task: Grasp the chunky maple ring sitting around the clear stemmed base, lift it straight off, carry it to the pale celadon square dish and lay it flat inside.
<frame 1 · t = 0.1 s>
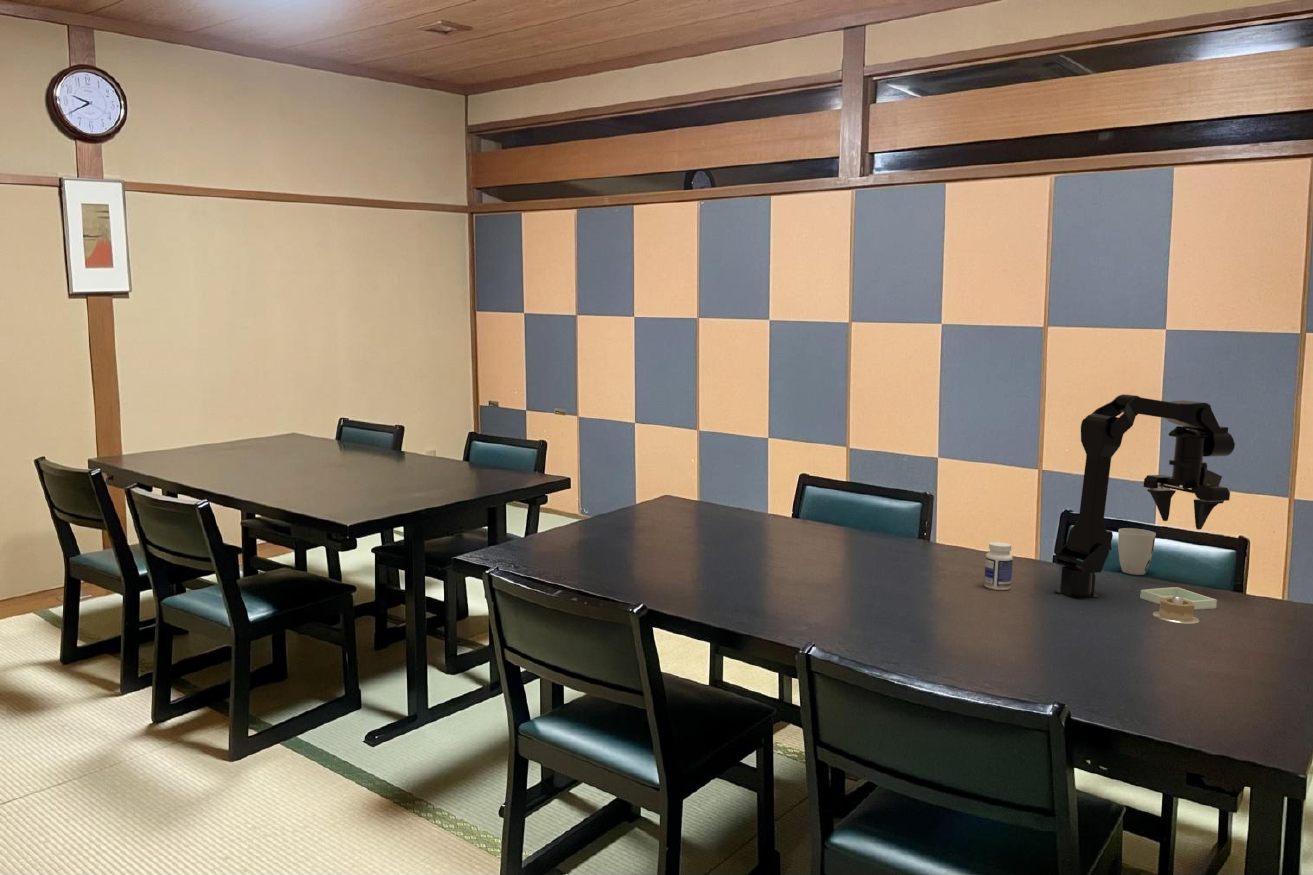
hand: (1181, 525, 223), 15 cm above the table, fingers open, 9 cm apart
cup: (1133, 572, 238), on the table
dish: (1177, 604, 210), on the table
clear stemmed base: (1175, 618, 200), on the table
pill bottle: (997, 588, 220), on the table
ring: (1176, 616, 200), resting on clear stemmed base
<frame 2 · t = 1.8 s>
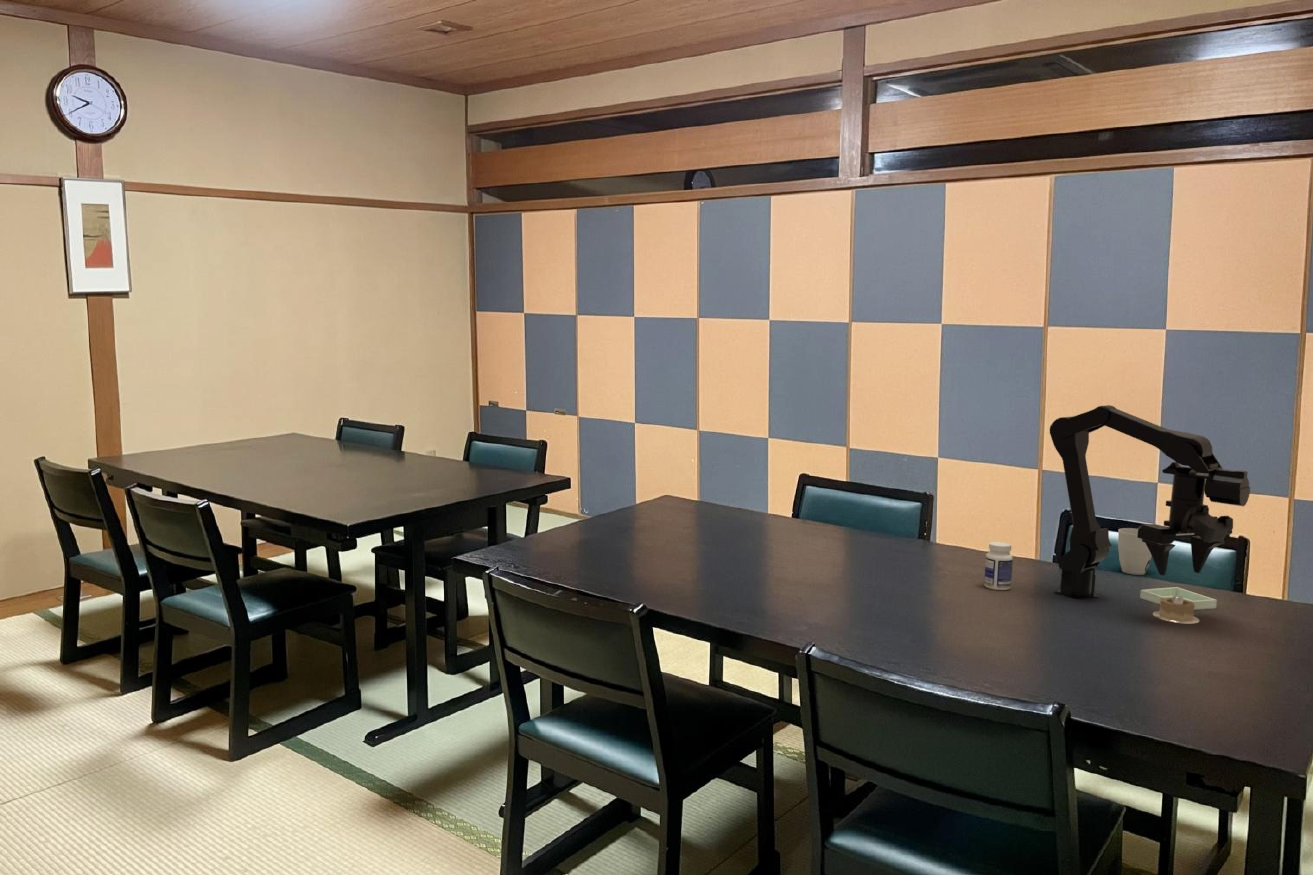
hand: (1179, 573, 199), 9 cm above the table, fingers open, 9 cm apart
nothing on the table moved.
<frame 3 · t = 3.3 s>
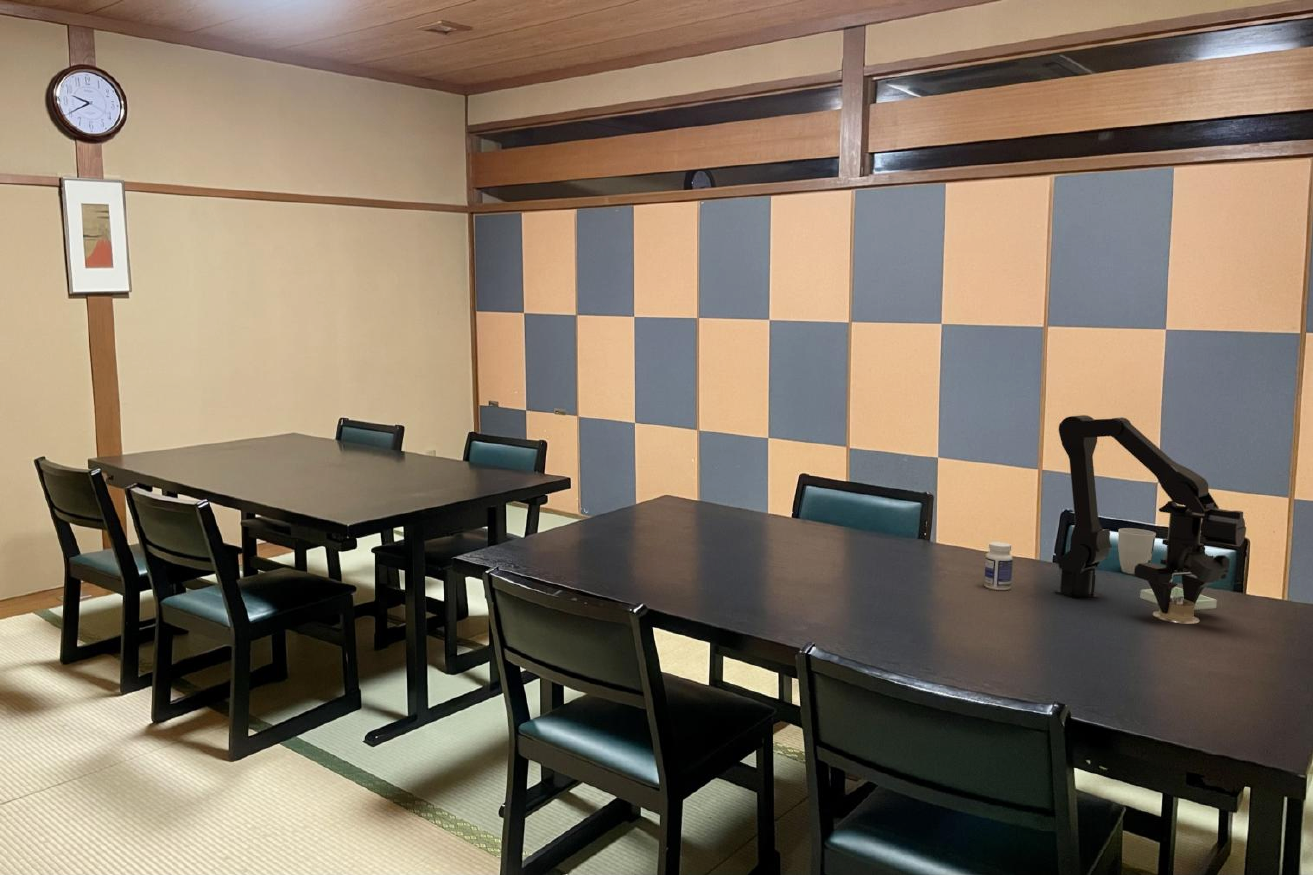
hand: (1176, 612, 200), 1 cm above the table, fingers closed on ring, 6 cm apart
ring: (1176, 616, 200), resting on clear stemmed base, touching gripper
everything else where it was.
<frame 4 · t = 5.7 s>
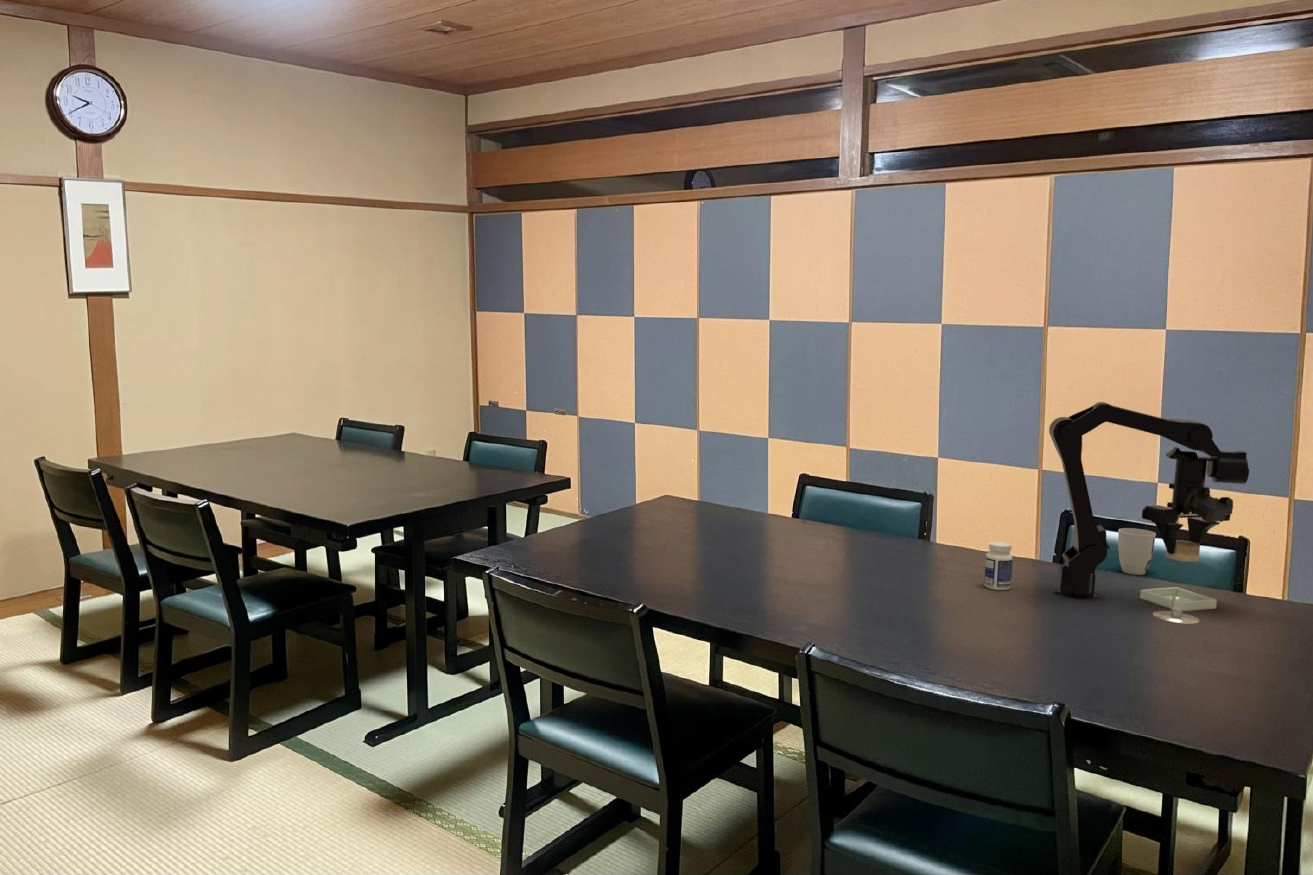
hand: (1182, 553, 209), 11 cm above the table, fingers closed on ring, 6 cm apart
ring: (1182, 557, 209), point 10 cm above the table, touching gripper
everything else where it was.
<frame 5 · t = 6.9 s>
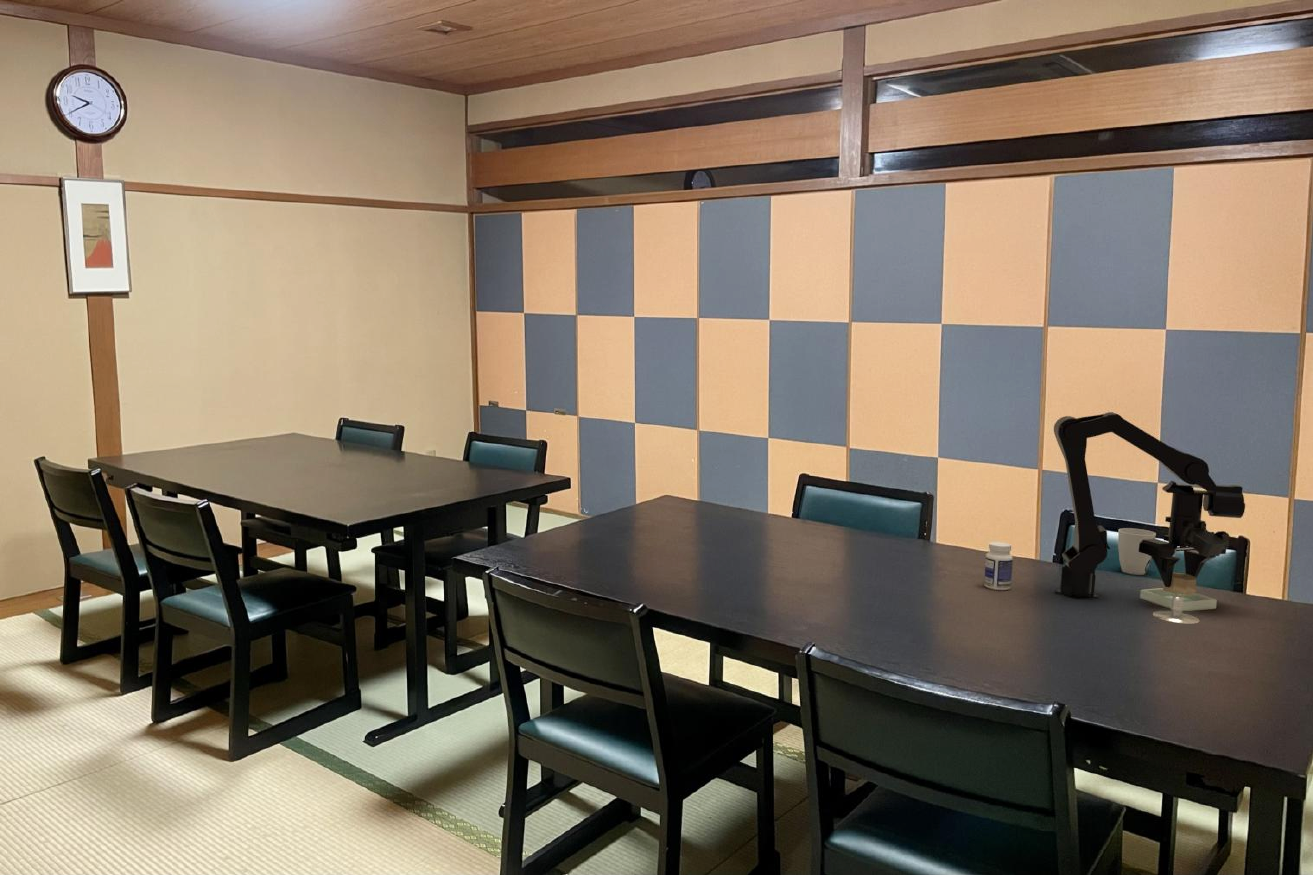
hand: (1178, 586, 210), 4 cm above the table, fingers closed on ring, 6 cm apart
ring: (1178, 590, 210), point 3 cm above the table, touching gripper
everything else where it was.
when the fingers open (3 cm above the table, at t = 8.0 s): ring drops 1 cm, resting on dish.
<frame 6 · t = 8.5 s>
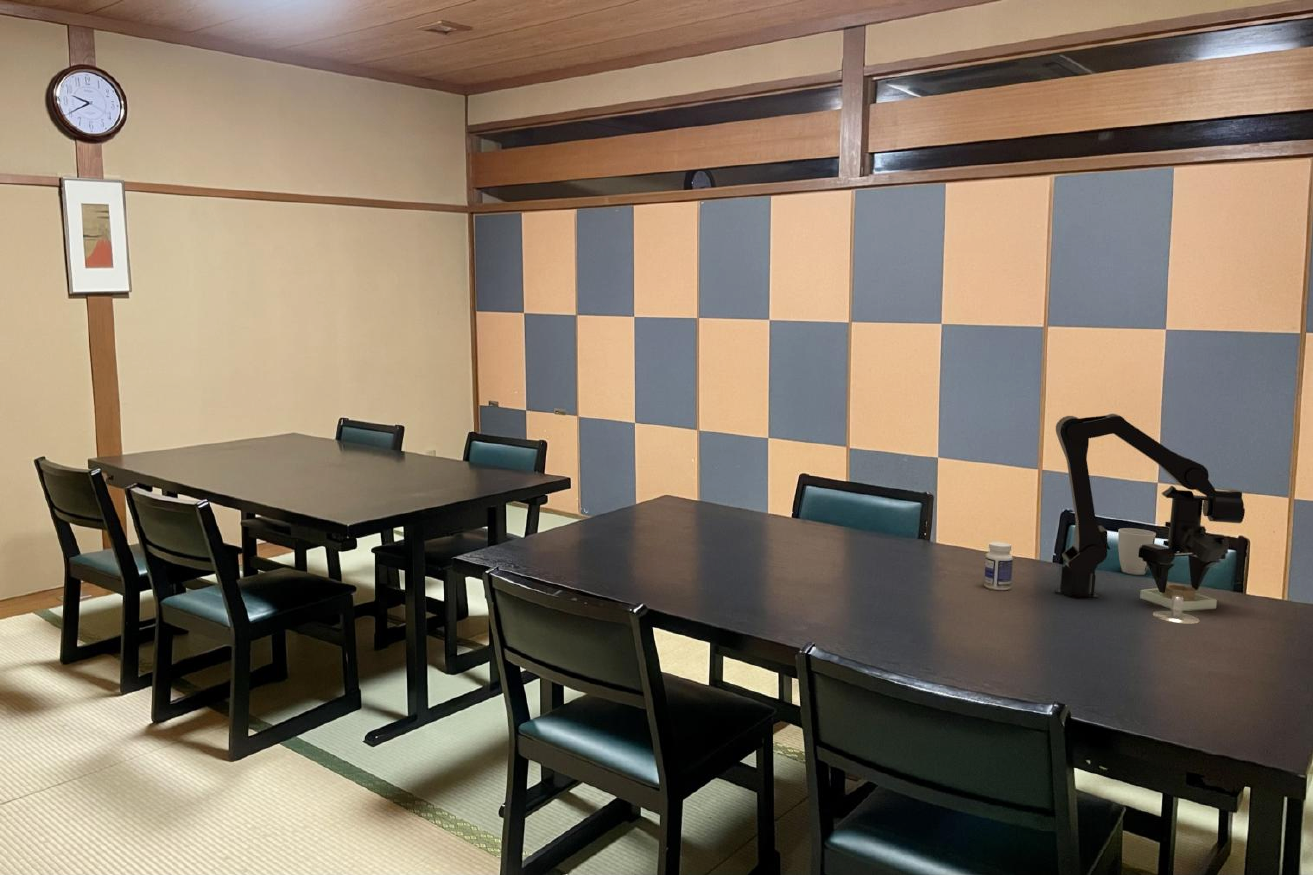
hand: (1178, 591, 210), 3 cm above the table, fingers open, 9 cm apart
ring: (1177, 602, 210), point 1 cm above the table, touching dish
everything else where it was.
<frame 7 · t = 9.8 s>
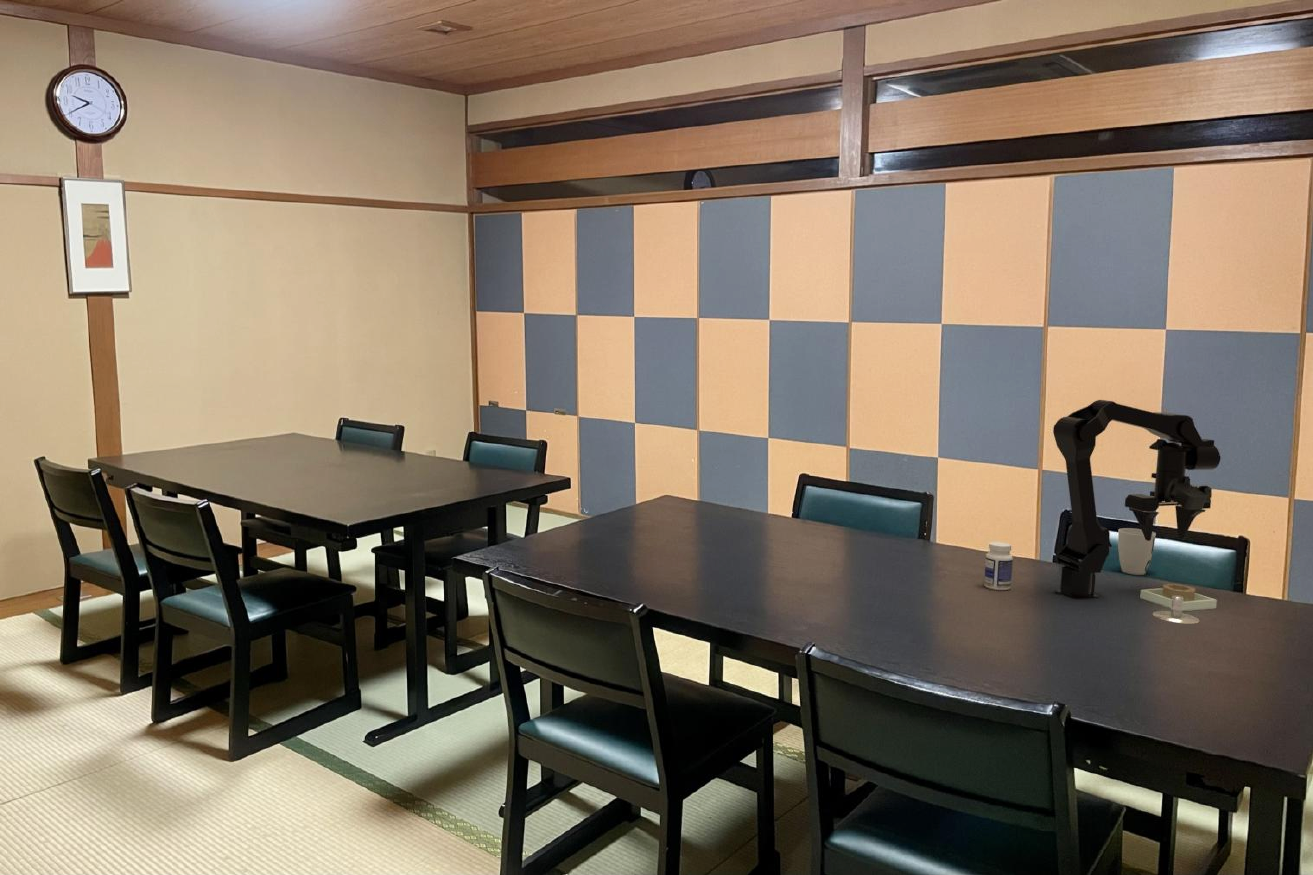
hand: (1164, 539, 219), 12 cm above the table, fingers open, 9 cm apart
nothing on the table moved.
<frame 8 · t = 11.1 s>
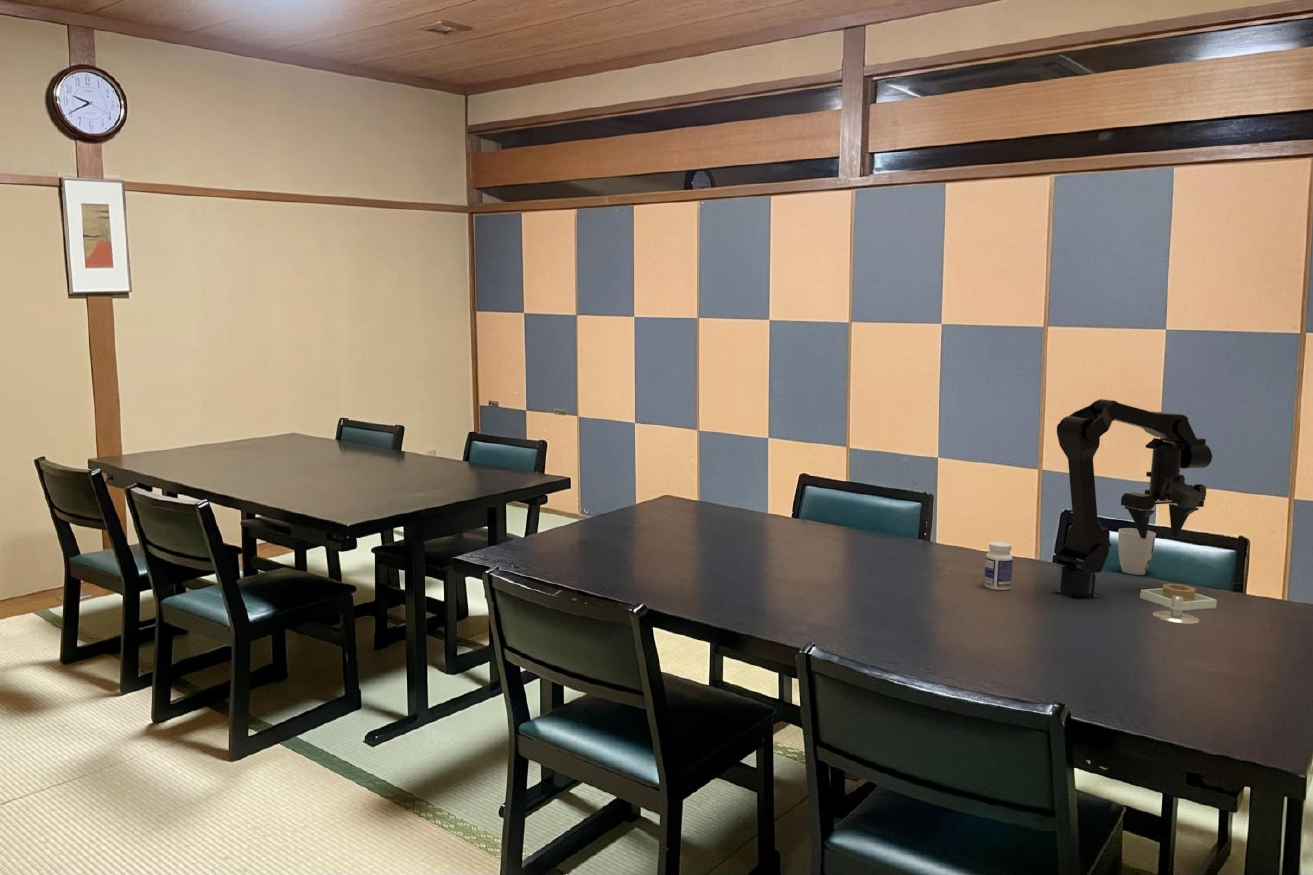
hand: (1159, 537, 221), 12 cm above the table, fingers open, 9 cm apart
nothing on the table moved.
at the end: ring inside the target area on the dish (0.0 cm from its centre), point 0.6 cm above the dish's base; ring tilted 0°; the gripper is holding nothing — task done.
